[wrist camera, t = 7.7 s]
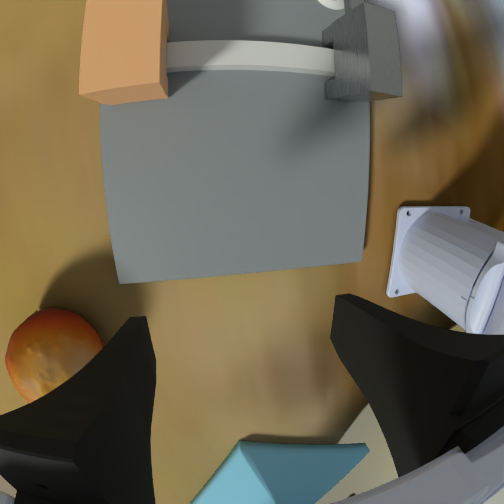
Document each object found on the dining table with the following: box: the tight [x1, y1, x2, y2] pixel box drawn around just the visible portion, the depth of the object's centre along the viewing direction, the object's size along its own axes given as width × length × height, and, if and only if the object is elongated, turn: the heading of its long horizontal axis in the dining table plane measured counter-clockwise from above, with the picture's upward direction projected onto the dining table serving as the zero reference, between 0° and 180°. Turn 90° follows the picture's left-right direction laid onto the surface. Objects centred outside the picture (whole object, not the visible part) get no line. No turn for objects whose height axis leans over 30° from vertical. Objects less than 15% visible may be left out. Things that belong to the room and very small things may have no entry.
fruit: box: [5, 307, 103, 403], centre depth 18 cm, size 8×8×8 cm
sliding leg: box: [79, 0, 169, 106], centre depth 11 cm, size 4×9×6 cm, turn 0°
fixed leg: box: [322, 0, 402, 103], centre depth 14 cm, size 2×9×6 cm, turn 0°
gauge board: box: [100, 0, 370, 284], centre depth 17 cm, size 18×22×2 cm
